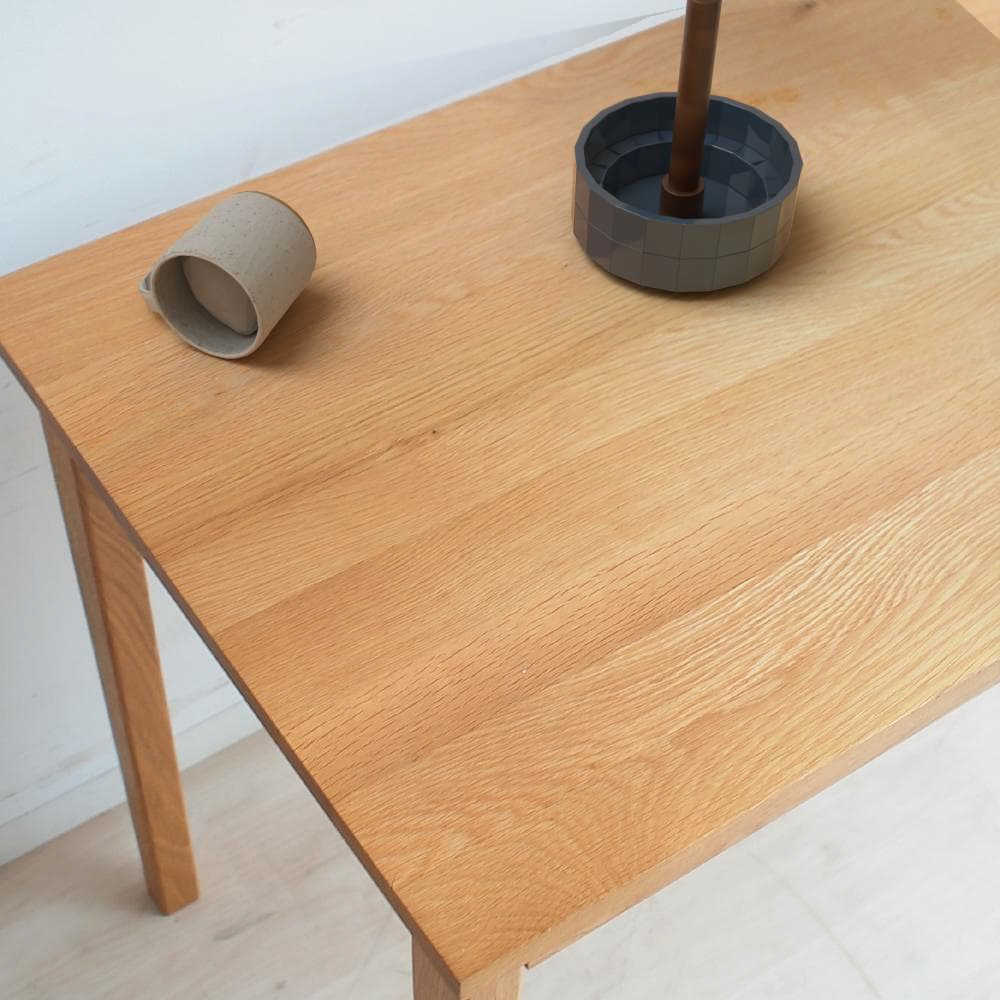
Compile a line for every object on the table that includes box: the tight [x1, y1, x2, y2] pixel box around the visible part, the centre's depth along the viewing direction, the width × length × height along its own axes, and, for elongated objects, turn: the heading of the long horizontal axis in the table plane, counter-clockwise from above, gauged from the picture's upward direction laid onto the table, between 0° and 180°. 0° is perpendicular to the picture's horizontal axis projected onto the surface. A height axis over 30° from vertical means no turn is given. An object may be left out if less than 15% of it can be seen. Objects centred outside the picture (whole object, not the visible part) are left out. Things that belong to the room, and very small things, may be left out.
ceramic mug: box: [138, 190, 317, 360], centre depth 87 cm, size 11×8×8 cm
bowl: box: [570, 91, 804, 293], centre depth 93 cm, size 14×14×6 cm
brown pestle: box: [658, 0, 723, 219], centre depth 89 cm, size 3×3×16 cm
